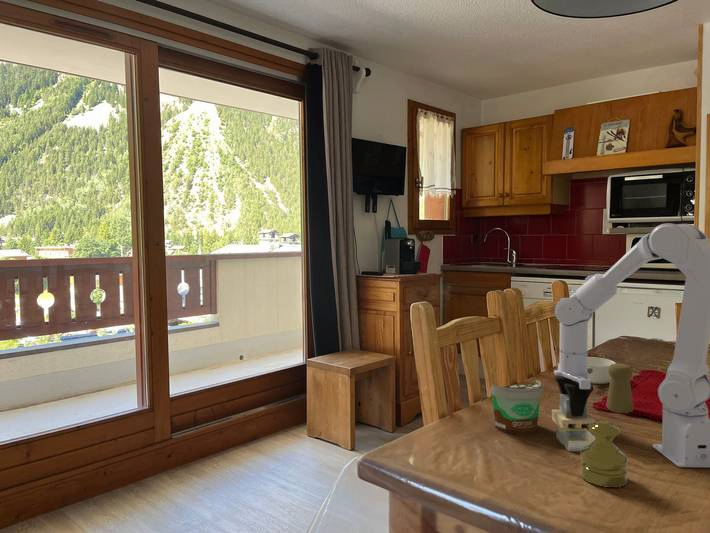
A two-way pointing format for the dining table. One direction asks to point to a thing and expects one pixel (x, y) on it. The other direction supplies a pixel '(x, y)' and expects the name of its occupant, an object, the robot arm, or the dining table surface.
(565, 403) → the stacked blocks
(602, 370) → the saucepan
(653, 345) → the dining table surface
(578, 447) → the dock
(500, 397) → the food container
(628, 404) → the cork
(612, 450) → the olive shiny rounded piece
